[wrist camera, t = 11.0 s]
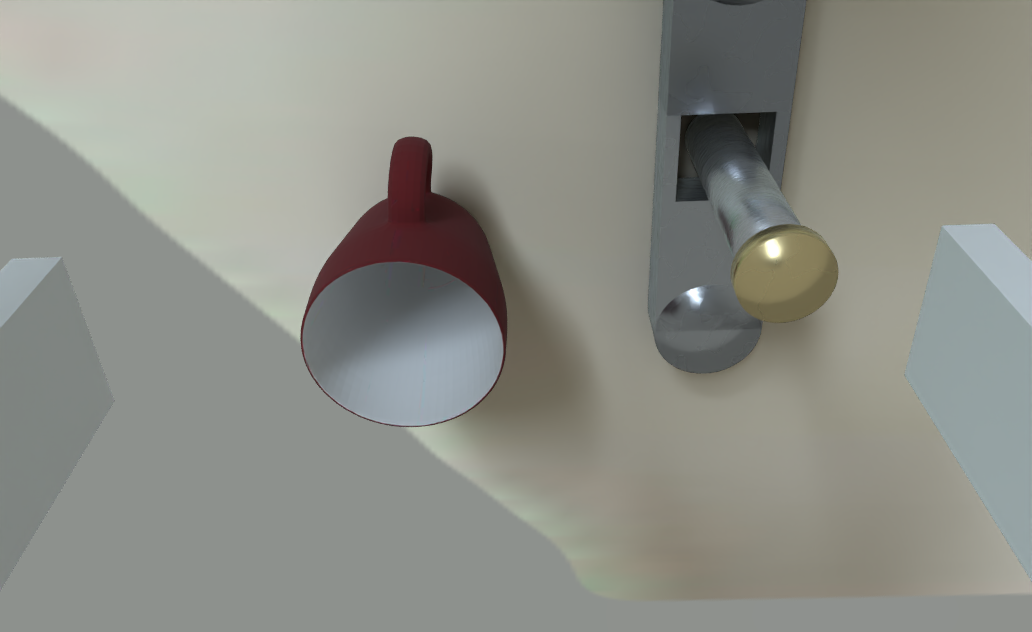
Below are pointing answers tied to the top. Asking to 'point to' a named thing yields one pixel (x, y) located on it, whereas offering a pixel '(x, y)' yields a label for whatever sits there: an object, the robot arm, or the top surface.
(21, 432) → the robot arm
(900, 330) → the top surface
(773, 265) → the pin
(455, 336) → the mug
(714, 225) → the grey rounded bar
